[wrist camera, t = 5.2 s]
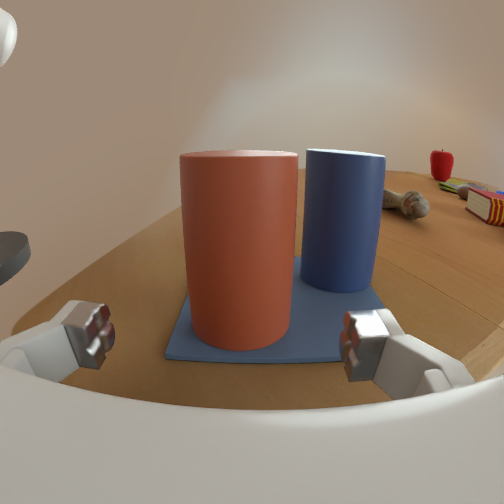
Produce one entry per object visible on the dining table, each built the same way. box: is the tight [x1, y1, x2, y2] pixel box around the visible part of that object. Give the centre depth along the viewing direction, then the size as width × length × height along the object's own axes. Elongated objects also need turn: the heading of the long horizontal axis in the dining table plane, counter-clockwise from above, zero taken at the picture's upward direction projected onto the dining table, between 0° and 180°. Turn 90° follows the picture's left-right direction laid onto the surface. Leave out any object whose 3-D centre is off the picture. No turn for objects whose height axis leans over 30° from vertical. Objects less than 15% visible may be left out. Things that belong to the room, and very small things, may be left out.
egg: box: [457, 185, 472, 200], centre depth 67 cm, size 6×6×4 cm
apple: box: [430, 150, 453, 181], centre depth 105 cm, size 10×10×14 cm
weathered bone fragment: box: [382, 188, 429, 219], centre depth 46 cm, size 5×5×15 cm
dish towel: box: [438, 179, 489, 193], centre depth 82 cm, size 18×24×3 cm
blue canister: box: [300, 149, 386, 293], centre depth 23 cm, size 6×6×10 cm
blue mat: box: [164, 257, 386, 363], centre depth 22 cm, size 14×14×1 cm
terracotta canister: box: [180, 150, 298, 351], centre depth 17 cm, size 6×6×10 cm
